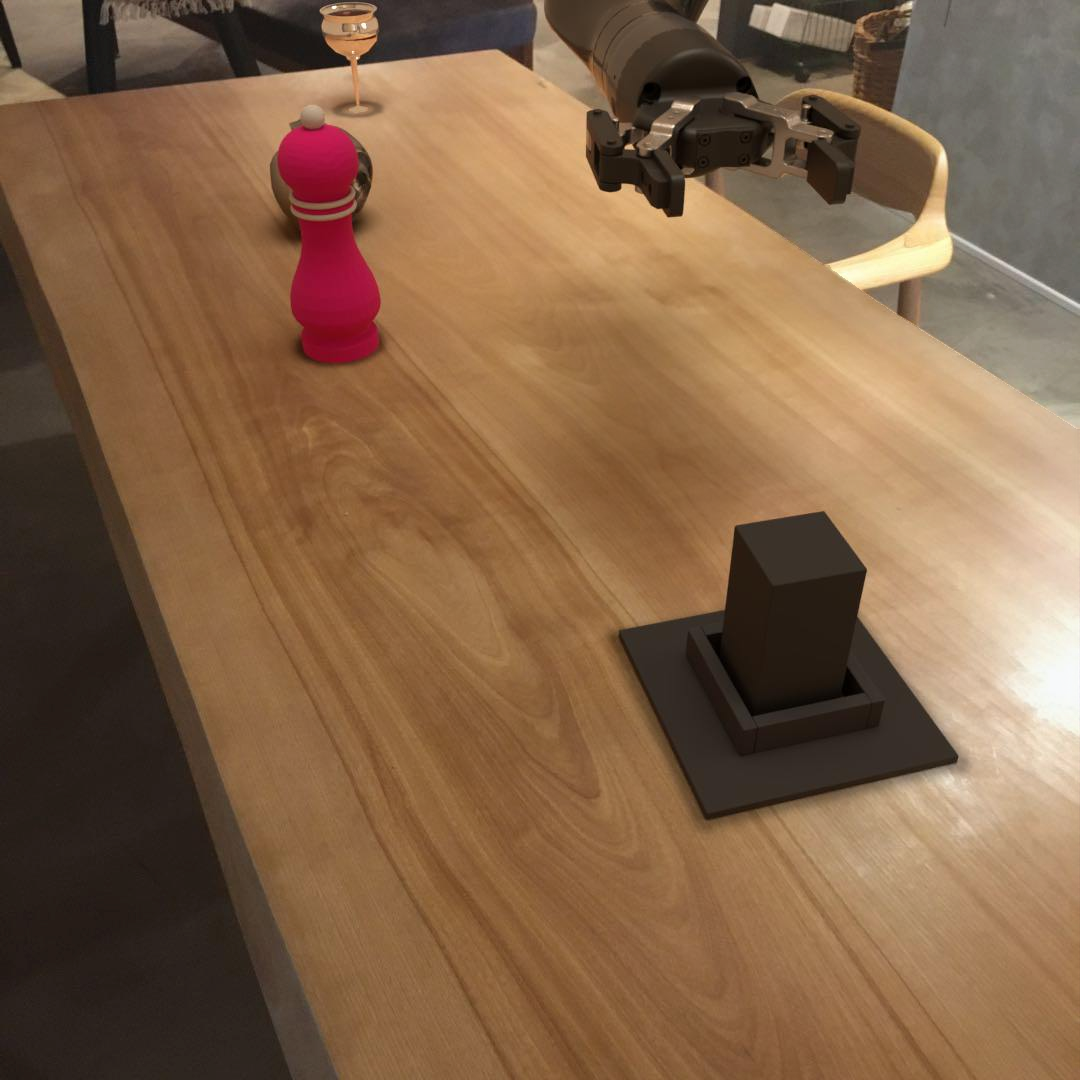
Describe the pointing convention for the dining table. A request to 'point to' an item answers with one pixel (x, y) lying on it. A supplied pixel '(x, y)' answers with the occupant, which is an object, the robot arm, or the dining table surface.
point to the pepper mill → (328, 243)
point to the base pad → (778, 722)
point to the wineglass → (350, 34)
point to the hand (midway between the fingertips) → (760, 192)
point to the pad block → (790, 612)
